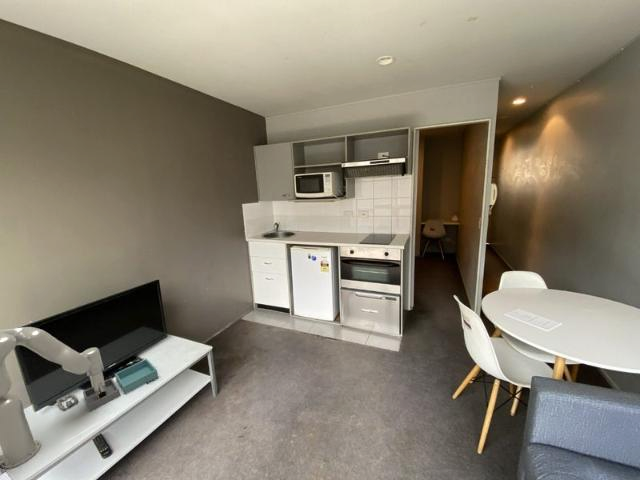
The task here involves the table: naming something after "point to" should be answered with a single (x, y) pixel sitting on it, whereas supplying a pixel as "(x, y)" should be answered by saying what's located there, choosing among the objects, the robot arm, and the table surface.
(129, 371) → the bin
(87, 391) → the bin
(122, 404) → the table surface
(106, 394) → the stone block
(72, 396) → the egg carton
